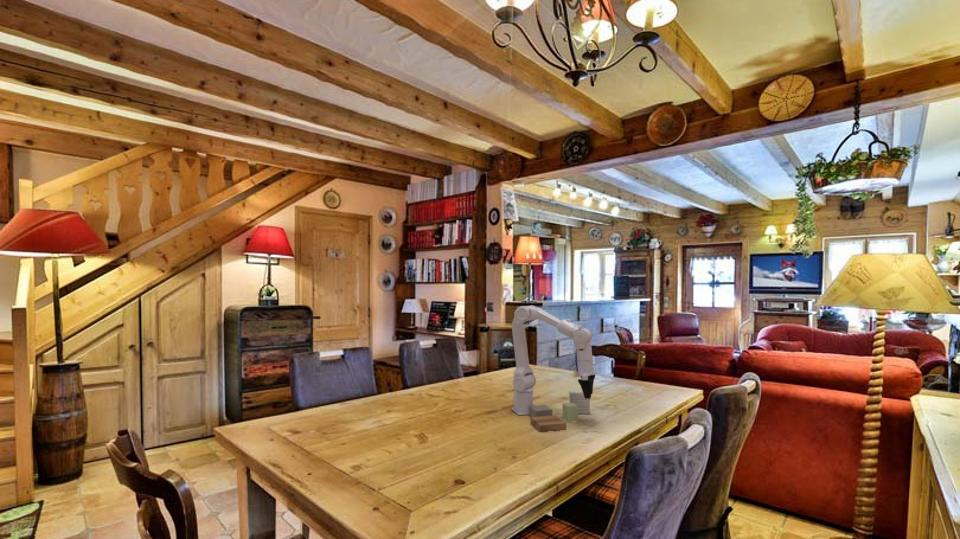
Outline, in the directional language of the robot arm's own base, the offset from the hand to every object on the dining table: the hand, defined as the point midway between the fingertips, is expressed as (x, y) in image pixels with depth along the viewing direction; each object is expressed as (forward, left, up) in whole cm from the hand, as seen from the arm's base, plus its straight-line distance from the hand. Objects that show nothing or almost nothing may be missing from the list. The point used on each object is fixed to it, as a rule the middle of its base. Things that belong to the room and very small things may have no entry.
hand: (588, 396), depth 167 cm
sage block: (-7, -4, -11) cm, 13 cm away
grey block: (-13, -14, -11) cm, 22 cm away
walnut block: (-1, -16, -11) cm, 20 cm away
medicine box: (-15, +4, -11) cm, 19 cm away
